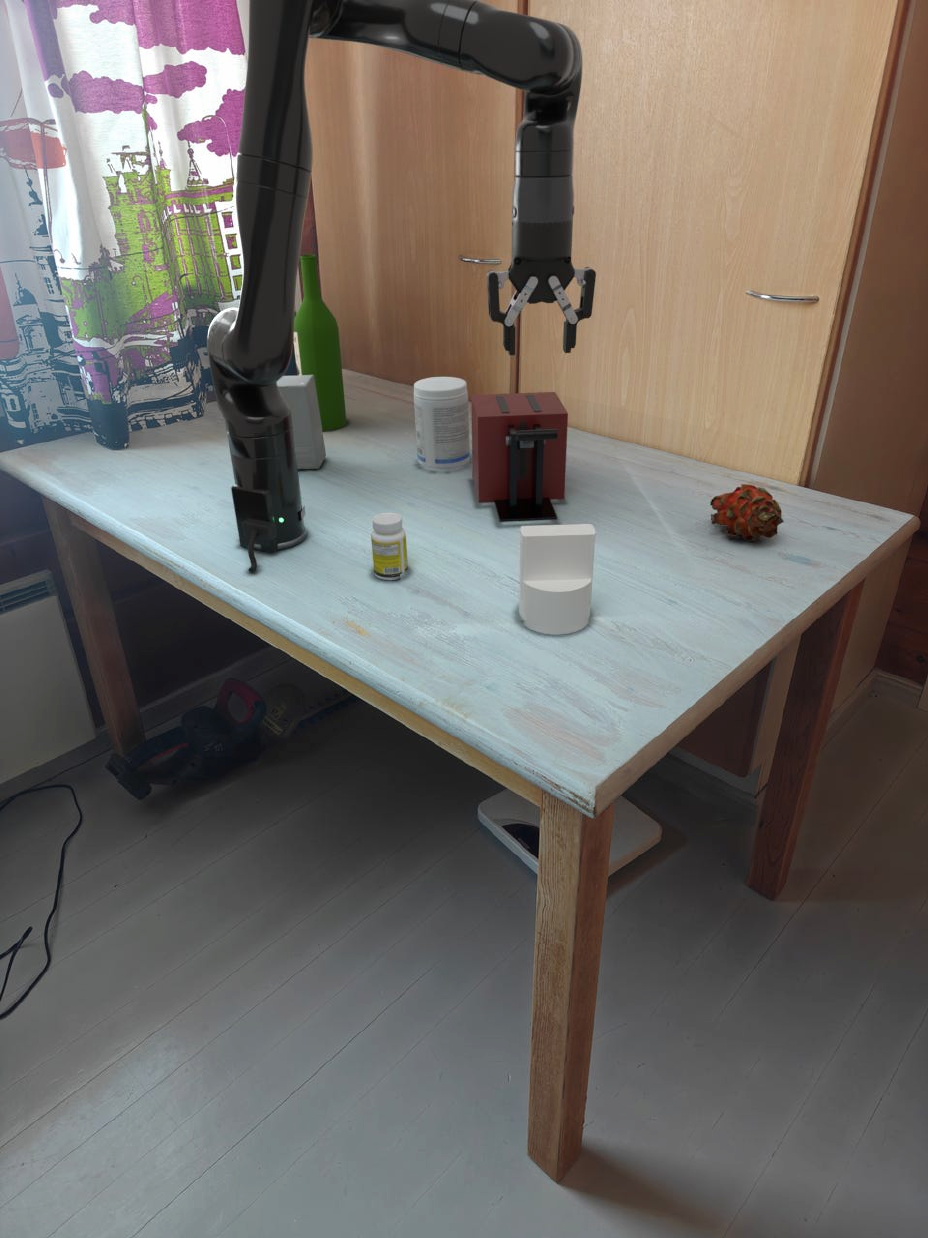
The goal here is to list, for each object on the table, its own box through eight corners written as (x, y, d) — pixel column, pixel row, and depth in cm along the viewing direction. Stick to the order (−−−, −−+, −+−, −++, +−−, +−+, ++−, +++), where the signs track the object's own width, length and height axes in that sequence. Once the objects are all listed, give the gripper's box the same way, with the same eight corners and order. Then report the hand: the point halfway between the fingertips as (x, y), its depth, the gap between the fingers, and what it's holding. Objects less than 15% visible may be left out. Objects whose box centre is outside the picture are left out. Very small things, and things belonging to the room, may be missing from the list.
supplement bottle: (390, 562, 125) (387, 508, 121) (415, 571, 123) (412, 516, 119) (366, 574, 122) (362, 519, 118) (391, 584, 120) (387, 528, 115)
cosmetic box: (326, 458, 163) (318, 373, 155) (317, 472, 157) (307, 384, 149) (282, 457, 164) (271, 372, 156) (271, 471, 158) (259, 383, 150)
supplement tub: (477, 458, 162) (477, 378, 155) (457, 475, 155) (455, 392, 147) (430, 452, 165) (427, 373, 158) (408, 468, 158) (403, 387, 151)
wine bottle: (300, 420, 184) (281, 253, 167) (342, 415, 186) (327, 250, 169) (306, 433, 176) (287, 260, 160) (350, 428, 179) (335, 257, 162)
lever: (558, 442, 122) (557, 425, 121) (517, 444, 121) (517, 426, 121) (542, 447, 136) (541, 432, 135) (506, 449, 135) (505, 433, 135)
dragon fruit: (774, 562, 127) (708, 545, 136) (805, 517, 128) (738, 503, 138) (754, 525, 122) (686, 510, 131) (786, 479, 123) (717, 467, 132)
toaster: (564, 503, 143) (568, 412, 135) (478, 507, 142) (477, 416, 134) (552, 476, 153) (555, 391, 146) (472, 480, 152) (471, 394, 145)
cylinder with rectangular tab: (584, 598, 115) (589, 514, 109) (595, 633, 108) (601, 545, 102) (515, 600, 115) (517, 516, 109) (522, 635, 107) (523, 547, 101)
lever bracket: (557, 524, 136) (560, 438, 129) (499, 526, 135) (499, 440, 128) (547, 499, 145) (549, 417, 138) (492, 501, 144) (492, 419, 137)
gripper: (593, 211, 112) (586, 344, 120) (481, 214, 111) (482, 348, 119) (606, 217, 105) (598, 357, 114) (487, 221, 104) (488, 362, 113)
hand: (539, 352), depth 116 cm, fingers open, 7 cm apart
